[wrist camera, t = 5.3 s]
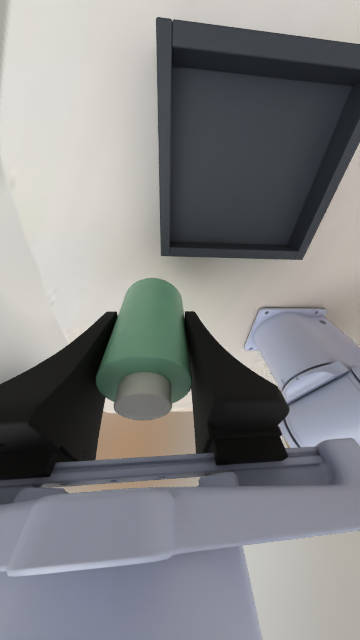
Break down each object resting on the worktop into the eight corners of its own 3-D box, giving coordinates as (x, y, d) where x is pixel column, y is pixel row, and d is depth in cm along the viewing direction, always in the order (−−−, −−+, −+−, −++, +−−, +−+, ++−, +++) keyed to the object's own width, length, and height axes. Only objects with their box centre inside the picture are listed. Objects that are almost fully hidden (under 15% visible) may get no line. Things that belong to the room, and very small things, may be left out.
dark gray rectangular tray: (365, 71, 11) (405, 49, 10) (288, 251, 19) (302, 260, 17) (157, 46, 10) (156, 15, 8) (161, 248, 18) (160, 256, 16)
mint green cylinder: (183, 277, 12) (201, 376, 6) (180, 325, 15) (191, 426, 9) (120, 277, 12) (70, 380, 6) (129, 325, 15) (101, 431, 8)
